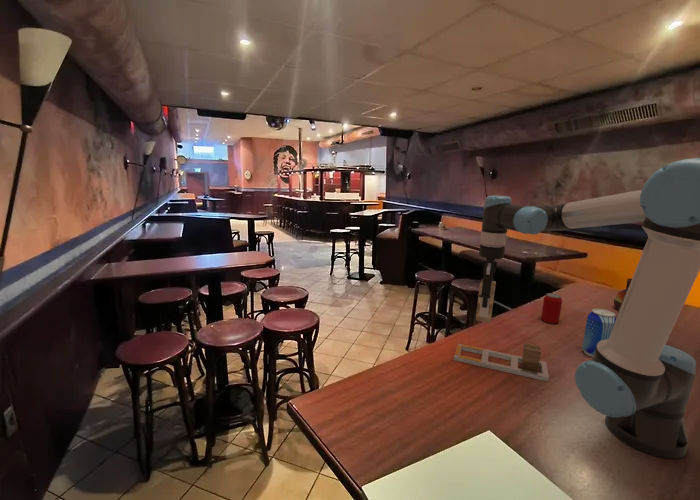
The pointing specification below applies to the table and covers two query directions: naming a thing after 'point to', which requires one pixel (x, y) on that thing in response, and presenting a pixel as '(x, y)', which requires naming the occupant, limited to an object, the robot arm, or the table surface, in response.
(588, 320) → the beer can
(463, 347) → the white yellow rectangular frame
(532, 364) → the walnut peg
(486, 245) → the robot arm
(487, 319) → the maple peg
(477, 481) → the table surface
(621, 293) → the vase
